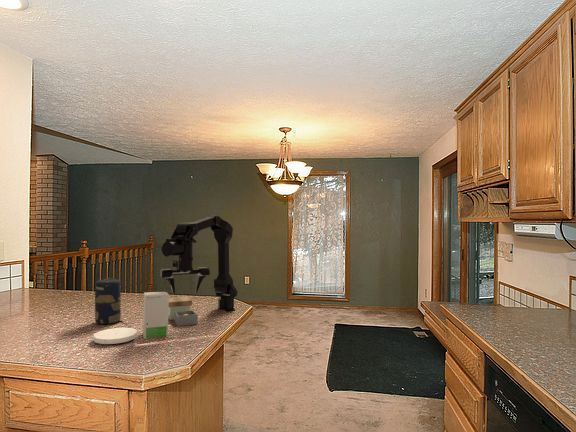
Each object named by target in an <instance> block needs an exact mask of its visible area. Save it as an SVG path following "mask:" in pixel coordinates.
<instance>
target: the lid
mask: <svg viewBox="0 0 576 432" xmlns="http://www.w3.org/2000/svg"><path fill="white" fill-rule="evenodd" d="M189 305H190V306H192V305H193V300H192V299H191V298H190V297H189V296H188V295H187V296H175V297H173V296H172V297H169V307H178V306H189Z"/></svg>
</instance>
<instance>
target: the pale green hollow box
mask: <svg viewBox="0 0 576 432" xmlns="http://www.w3.org/2000/svg"><path fill="white" fill-rule="evenodd" d="M190 310H191V305H189V306H178V307H169V311H168V320H170V321H171V320H175V312H179V311H190Z"/></svg>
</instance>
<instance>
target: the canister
mask: <svg viewBox="0 0 576 432" xmlns="http://www.w3.org/2000/svg"><path fill="white" fill-rule="evenodd" d="M121 283H122V282H121V280H119V279H117V278H111V277H107V278H105V279H99V280H97V281H96V282H95V283H94V320H95V323H97V324H101V325H102V324H103V325H104V324H105V325H107V324H113V323H117V322H119V321H120V320H121V315H122V312H121V308H122V298H121V296H122V295H121V294H122V291H121V290H122V289H121V287H122V286H121Z"/></svg>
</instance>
